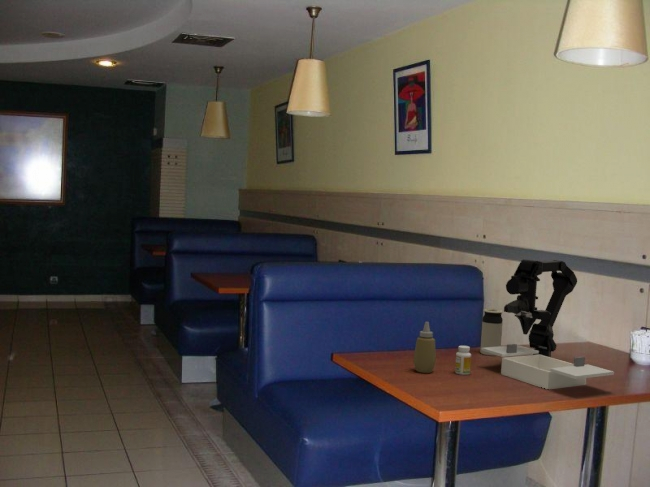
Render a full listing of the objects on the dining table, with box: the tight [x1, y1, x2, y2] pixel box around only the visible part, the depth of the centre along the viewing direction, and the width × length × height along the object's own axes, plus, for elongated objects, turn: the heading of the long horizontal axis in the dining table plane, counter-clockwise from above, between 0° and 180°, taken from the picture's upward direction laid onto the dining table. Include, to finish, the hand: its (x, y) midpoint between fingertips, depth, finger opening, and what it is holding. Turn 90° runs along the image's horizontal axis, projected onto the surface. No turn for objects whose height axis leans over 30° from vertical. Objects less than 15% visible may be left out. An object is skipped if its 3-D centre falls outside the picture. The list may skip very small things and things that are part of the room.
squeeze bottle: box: [413, 321, 437, 374], centre depth 265 cm, size 8×8×18 cm
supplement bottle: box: [454, 345, 472, 376], centre depth 265 cm, size 5×5×10 cm
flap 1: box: [480, 343, 539, 358], centre depth 276 cm, size 18×11×4 cm, turn 120°
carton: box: [500, 354, 587, 390], centre depth 262 cm, size 19×22×6 cm
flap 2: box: [550, 356, 615, 379], centre depth 247 cm, size 18×11×4 cm, turn 120°
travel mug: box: [479, 308, 504, 357], centre depth 301 cm, size 8×8×18 cm
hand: (525, 334), depth 277 cm, fingers closed
